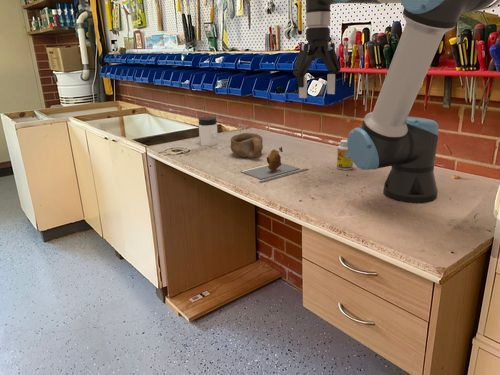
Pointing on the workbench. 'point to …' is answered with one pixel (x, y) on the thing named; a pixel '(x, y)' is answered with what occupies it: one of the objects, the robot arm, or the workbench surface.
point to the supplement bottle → (344, 157)
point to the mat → (268, 171)
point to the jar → (208, 131)
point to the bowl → (247, 145)
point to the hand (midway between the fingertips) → (317, 95)
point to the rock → (274, 159)
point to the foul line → (283, 175)
